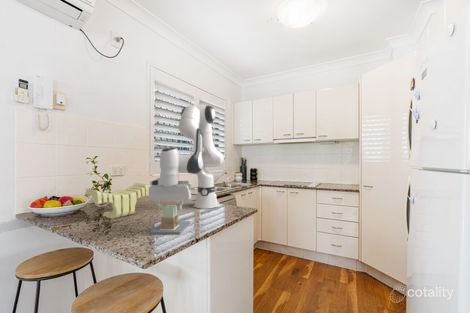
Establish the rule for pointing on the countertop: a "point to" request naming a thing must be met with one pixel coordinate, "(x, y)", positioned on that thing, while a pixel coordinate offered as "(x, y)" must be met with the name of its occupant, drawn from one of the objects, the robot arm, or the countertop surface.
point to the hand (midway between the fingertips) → (170, 209)
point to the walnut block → (169, 222)
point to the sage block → (169, 211)
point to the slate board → (177, 230)
